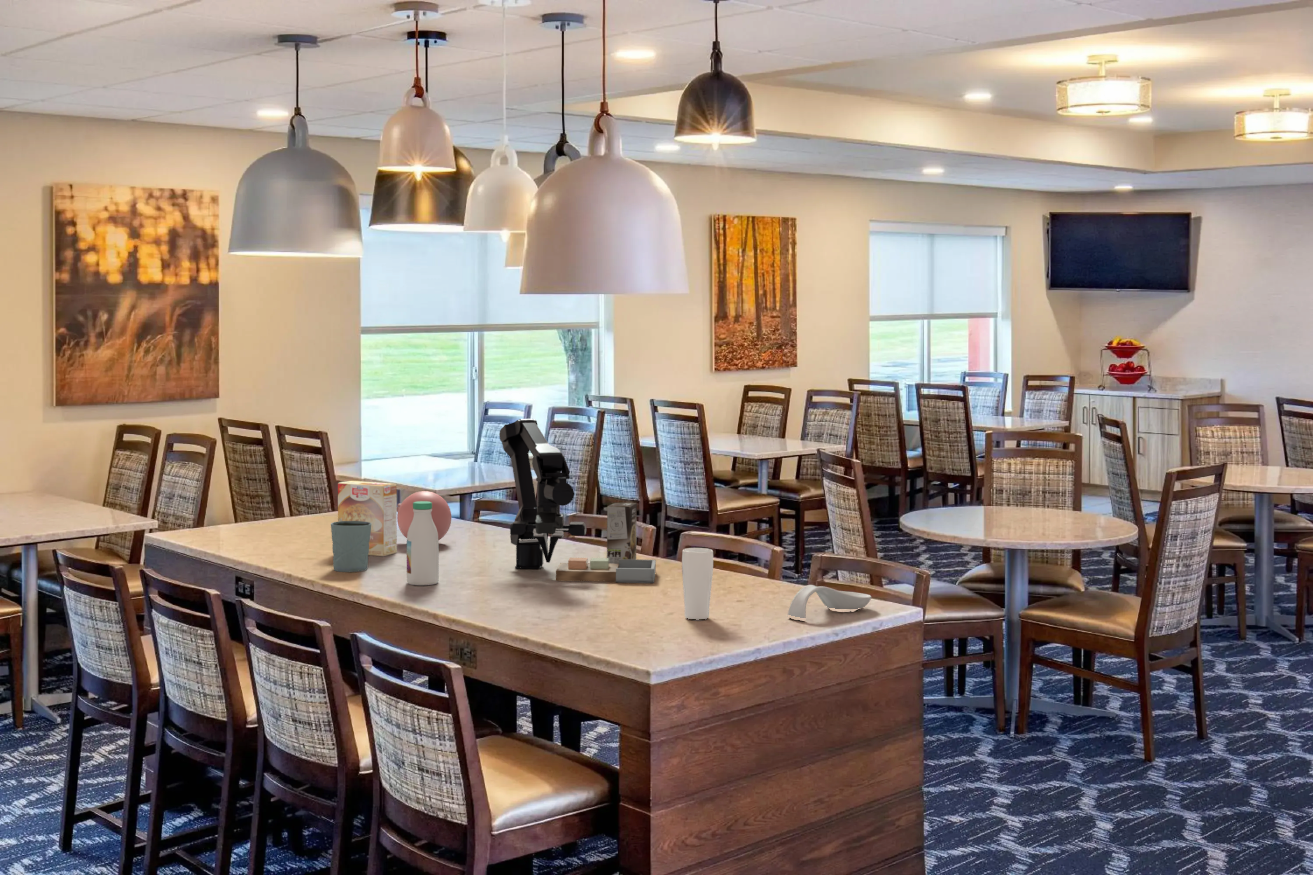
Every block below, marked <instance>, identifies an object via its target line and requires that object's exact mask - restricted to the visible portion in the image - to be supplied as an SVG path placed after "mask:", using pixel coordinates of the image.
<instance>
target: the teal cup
mask: <svg viewBox="0 0 1313 875" xmlns="http://www.w3.org/2000/svg"><path fill="white" fill-rule="evenodd" d="M330 528H331V529H330V532H331V541H332V546H331V547H332V554H333V556H332V561H333V562H332V564H333V570H334V571H335V572H340V573H357V572H358V573H359V572H364V571H367V569H368V567H369V566H368V565H369V564H368V563H369V555H368V554H369V541H370V533H371V523H370V522H364V521H339V522H338V521H334V522H331V523H330Z"/></svg>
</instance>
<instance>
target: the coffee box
mask: <svg viewBox="0 0 1313 875" xmlns="http://www.w3.org/2000/svg"><path fill="white" fill-rule="evenodd" d="M637 508H638V506H637V502H614V503H612V504H609V505H607V511H606V512H607V516H606V517H607V518H606V519H607V520H606V529H607V530H606V558H609V564H619V559H637V525H638V524H637V518H638V517H637V516H638V514H637V513H638V511H637V510H638V509H637Z"/></svg>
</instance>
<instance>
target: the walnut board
mask: <svg viewBox="0 0 1313 875" xmlns="http://www.w3.org/2000/svg"><path fill="white" fill-rule="evenodd" d="M616 568H619V564H609V568H608V569H590V562H588V566H587V568H586V569H571V568H568V562H560V563H559V565H558V567H557V568H556V570H555V581H556V582H598V583H599V582H605V583H606V582H607V583H608V582H609V583H616Z"/></svg>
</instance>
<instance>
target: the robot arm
mask: <svg viewBox="0 0 1313 875" xmlns="http://www.w3.org/2000/svg"><path fill="white" fill-rule="evenodd" d="M498 435H499V436H498V437H499V441H500V442H501V444H502V449H503V451H504V452H505V454H507V456H508V457H509V458H510V461H511V466H512V473H513V479H514V485H515V491H516V497H517V504H518V512H517V514H516V516H515V518H514V521H513V522H512V523H511V524H510V528H509V532H510V533H509V537H510V544H511V545H514V546H516V547H515V549H516V550H515V562H516V563H515V565H514V569H530V570H531V569H537V570H539V569H541V568H542V566H543V565H544V560H545V562H546V563H551V561H552V557H553V555H554V554H553V553H554V551H555V548H556V545H557V542H558V541H559V540H561V539H563V537H564V536H565V535H564V533H568V534H570V535H571V536H573V537H574V536H577V537H579V536H580V537H583V536H586V534H587V524H586V523H585V522H584V521H570V522H569V524H564V522H565V519H564V513H561V507H562V506H563V507H565V506H567V505H569V504H570V503H572V501H573V499H574V497H575V491H574V489H573V486H572V484H570V483H568V482H567V480H570V477H571V476H570V473H571V472H570V468H569V466H568V463H567V460H566V458H565V456H564V455H563V453H562V451H561V450H560V449H559V448H557V446H554V445H551V444H549V442H548V440H547V438H545V436H544V434H543V432H542V431H541V429H540V428H539V426H538V421H537V420H536V419H534V418H519V419H516V420H515V421H514V422H511V423H507V424H504V425H503V427H501V428H500V429H499V434H498ZM529 452H530V453H531V454H532V460H531V461H532V462H531V461H530V456H529V455H530V454H529ZM531 465H532V468H531ZM532 469H533V471H534V473H535V476H536V478H535V481H536V482H537V484H536V485H537V486H536V487H537V488H536V489H537V490H536V491H537V492H536V491H535V485H534V480H533V479H534V478H533V474H532V473H533V472H532ZM536 495H537V496H536ZM549 535H550V537H549ZM548 540H549V542H548ZM548 543H549V544H548ZM544 558H545V559H544Z"/></svg>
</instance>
